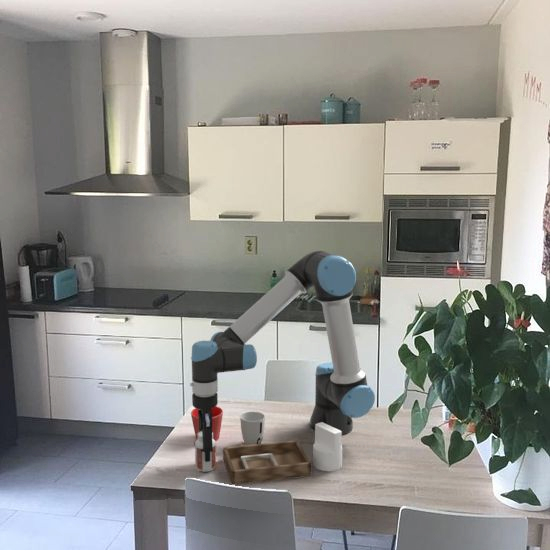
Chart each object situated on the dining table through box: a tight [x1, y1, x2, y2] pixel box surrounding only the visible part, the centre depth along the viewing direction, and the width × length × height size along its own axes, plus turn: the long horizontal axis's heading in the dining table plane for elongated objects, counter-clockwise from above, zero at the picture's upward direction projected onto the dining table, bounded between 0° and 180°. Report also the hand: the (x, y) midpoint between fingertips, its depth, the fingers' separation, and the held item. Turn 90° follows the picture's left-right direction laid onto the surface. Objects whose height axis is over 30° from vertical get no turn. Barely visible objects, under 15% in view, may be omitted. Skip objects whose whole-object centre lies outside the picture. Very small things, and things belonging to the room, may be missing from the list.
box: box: [222, 440, 313, 485], centre depth 188 cm, size 24×16×4 cm, turn 103°
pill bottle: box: [194, 431, 217, 473], centre depth 187 cm, size 6×6×11 cm
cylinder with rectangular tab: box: [312, 422, 343, 472], centre depth 190 cm, size 9×9×12 cm
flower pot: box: [190, 405, 224, 442], centre depth 207 cm, size 11×11×10 cm
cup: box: [239, 411, 266, 445], centre depth 203 cm, size 8×8×10 cm
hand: (205, 464), depth 188 cm, fingers closed on pill bottle, 6 cm apart
